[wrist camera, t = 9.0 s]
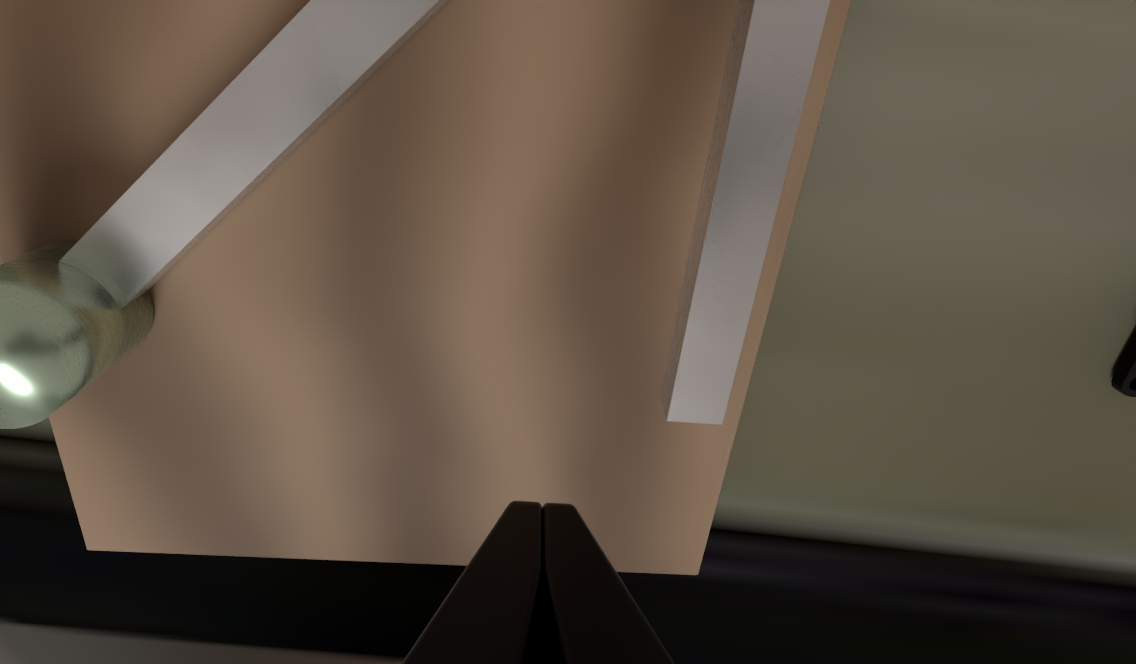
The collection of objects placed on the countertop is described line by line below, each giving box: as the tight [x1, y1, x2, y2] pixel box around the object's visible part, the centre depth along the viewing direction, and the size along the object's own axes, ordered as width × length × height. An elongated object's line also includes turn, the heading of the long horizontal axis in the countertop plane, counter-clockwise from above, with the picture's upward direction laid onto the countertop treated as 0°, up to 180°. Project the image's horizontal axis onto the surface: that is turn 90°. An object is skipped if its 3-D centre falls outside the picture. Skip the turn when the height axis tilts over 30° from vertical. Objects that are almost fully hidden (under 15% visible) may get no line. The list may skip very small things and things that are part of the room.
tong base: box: [659, 0, 830, 425], centre depth 14 cm, size 5×20×2 cm, turn 174°
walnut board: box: [0, 0, 852, 575], centre depth 16 cm, size 20×28×2 cm
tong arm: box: [0, 0, 449, 429], centre depth 13 cm, size 22×3×4 cm, turn 129°
